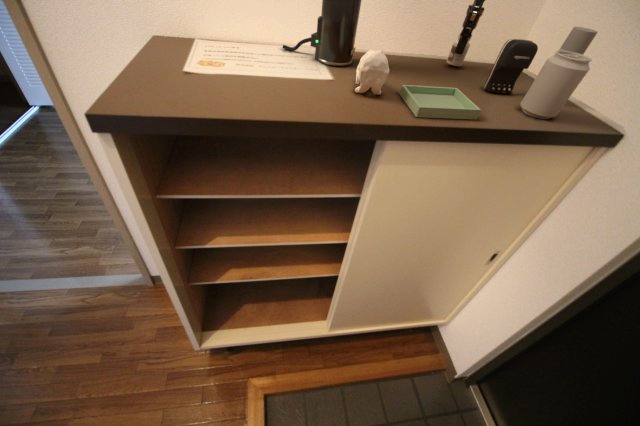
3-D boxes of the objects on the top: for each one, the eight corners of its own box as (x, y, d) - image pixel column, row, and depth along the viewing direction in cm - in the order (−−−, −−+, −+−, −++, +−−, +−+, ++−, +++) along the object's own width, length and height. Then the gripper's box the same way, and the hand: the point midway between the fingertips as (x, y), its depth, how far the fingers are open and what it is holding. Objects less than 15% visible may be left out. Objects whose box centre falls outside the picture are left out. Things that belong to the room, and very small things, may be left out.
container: (553, 105, 68) (603, 33, 58) (533, 101, 69) (579, 30, 58) (546, 97, 72) (592, 28, 61) (527, 94, 72) (569, 25, 61)
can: (515, 102, 67) (549, 46, 59) (549, 110, 66) (589, 53, 57) (520, 115, 62) (558, 55, 53) (558, 123, 60) (602, 63, 52)
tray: (416, 117, 56) (419, 107, 55) (399, 94, 64) (401, 84, 63) (476, 119, 58) (481, 109, 57) (452, 96, 66) (456, 87, 64)
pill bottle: (445, 60, 84) (456, 30, 79) (459, 62, 84) (472, 32, 79) (447, 64, 81) (459, 34, 76) (462, 67, 81) (475, 36, 76)
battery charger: (488, 94, 69) (514, 41, 61) (481, 88, 72) (506, 36, 64) (514, 96, 70) (544, 44, 62) (506, 90, 73) (534, 39, 65)
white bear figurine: (362, 51, 54) (355, 41, 64) (355, 97, 60) (349, 81, 69) (395, 54, 55) (383, 44, 64) (384, 99, 60) (374, 83, 70)
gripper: (475, -30, 74) (447, 43, 86) (473, -28, 64) (442, 54, 76) (505, -26, 72) (473, 49, 84) (508, -23, 63) (471, 61, 75)
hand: (458, 51), depth 80 cm, fingers closed on pill bottle, 4 cm apart
